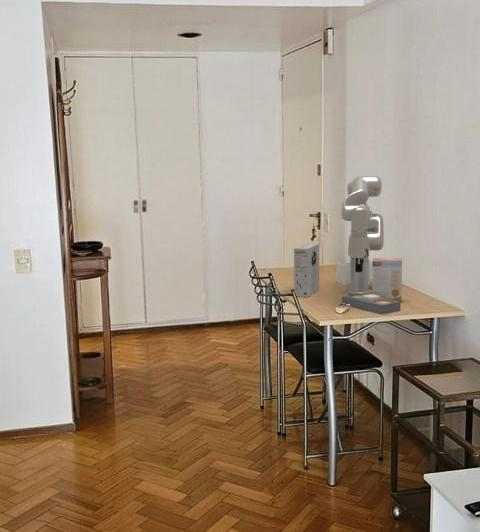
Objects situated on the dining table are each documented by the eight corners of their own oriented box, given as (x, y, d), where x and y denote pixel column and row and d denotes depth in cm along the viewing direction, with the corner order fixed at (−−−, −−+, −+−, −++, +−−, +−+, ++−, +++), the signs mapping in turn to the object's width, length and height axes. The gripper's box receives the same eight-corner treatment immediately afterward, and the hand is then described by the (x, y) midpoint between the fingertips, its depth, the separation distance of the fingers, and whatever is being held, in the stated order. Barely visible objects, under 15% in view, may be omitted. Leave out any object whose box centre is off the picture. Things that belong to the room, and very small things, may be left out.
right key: (373, 307, 319) (373, 302, 319) (383, 305, 323) (383, 300, 322) (383, 309, 315) (383, 304, 314) (392, 308, 318) (392, 302, 318)
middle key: (361, 300, 326) (361, 295, 325) (370, 299, 329) (370, 294, 329) (370, 303, 321) (370, 297, 320) (379, 301, 324) (380, 296, 324)
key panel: (342, 304, 333) (342, 296, 332) (360, 301, 339) (360, 293, 339) (381, 314, 311) (381, 305, 311) (400, 310, 318) (400, 301, 318)
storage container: (375, 279, 397) (375, 260, 395) (385, 282, 387) (386, 262, 385) (336, 282, 388) (336, 263, 386) (346, 286, 378) (346, 266, 376)
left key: (349, 301, 333) (349, 296, 332) (358, 300, 336) (358, 295, 335) (358, 303, 328) (358, 298, 327) (367, 302, 331) (367, 297, 331)
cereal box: (305, 288, 373) (305, 242, 369) (319, 289, 370) (319, 242, 366) (294, 296, 353) (293, 247, 349) (308, 297, 350) (308, 248, 346)
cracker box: (401, 300, 340) (402, 257, 336) (401, 302, 334) (402, 259, 330) (372, 299, 343) (372, 257, 339) (371, 301, 337) (372, 259, 334)
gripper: (342, 232, 330) (342, 270, 334) (364, 236, 318) (364, 275, 322) (353, 231, 335) (353, 268, 338) (376, 234, 322) (375, 273, 326)
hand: (358, 271), depth 330 cm, fingers closed
